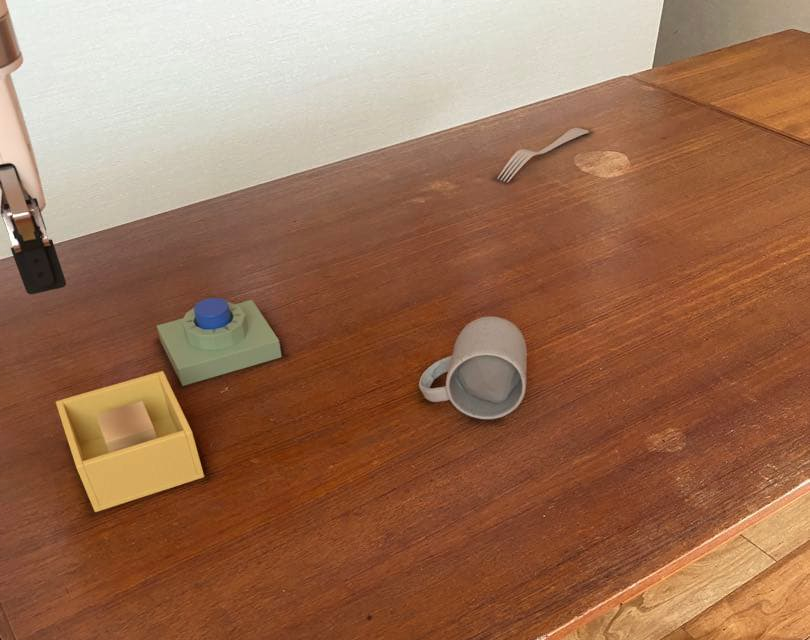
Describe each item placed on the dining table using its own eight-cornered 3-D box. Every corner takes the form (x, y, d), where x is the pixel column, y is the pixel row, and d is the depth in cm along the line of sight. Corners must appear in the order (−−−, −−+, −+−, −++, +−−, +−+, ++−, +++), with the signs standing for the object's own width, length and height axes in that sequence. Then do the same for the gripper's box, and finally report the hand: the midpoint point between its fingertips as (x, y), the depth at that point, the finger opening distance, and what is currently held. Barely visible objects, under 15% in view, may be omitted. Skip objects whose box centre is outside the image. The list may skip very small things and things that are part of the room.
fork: (589, 149, 132) (592, 130, 130) (510, 183, 119) (512, 163, 118) (573, 144, 133) (576, 125, 131) (493, 178, 121) (496, 157, 119)
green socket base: (182, 386, 90) (173, 354, 87) (160, 342, 96) (152, 310, 93) (282, 357, 93) (276, 325, 90) (255, 316, 99) (249, 285, 96)
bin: (95, 512, 78) (76, 467, 74) (73, 446, 84) (55, 401, 80) (204, 477, 81) (192, 431, 76) (175, 415, 87) (163, 370, 83)
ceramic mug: (525, 372, 90) (529, 307, 84) (523, 422, 84) (528, 356, 79) (423, 369, 91) (421, 304, 86) (415, 418, 86) (412, 353, 80)
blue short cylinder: (202, 334, 90) (199, 319, 89) (193, 317, 92) (189, 302, 91) (235, 325, 91) (232, 310, 90) (225, 308, 93) (222, 294, 92)
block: (118, 478, 80) (105, 442, 77) (108, 450, 83) (95, 414, 80) (165, 463, 81) (153, 427, 78) (153, 436, 84) (142, 400, 81)
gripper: (-102, 14, 66) (-20, 225, 79) (-85, 96, 56) (6, 323, 68) (0, 1, 68) (63, 208, 81) (35, 77, 58) (102, 301, 71)
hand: (37, 261), depth 75 cm, fingers open, 9 cm apart
